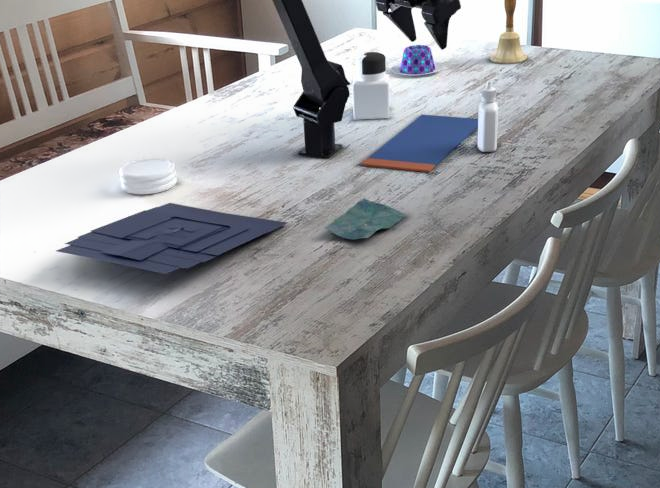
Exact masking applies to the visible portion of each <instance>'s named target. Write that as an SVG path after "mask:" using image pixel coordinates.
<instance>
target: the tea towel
mask: <svg viewBox="0 0 660 488" xmlns="http://www.w3.org/2000/svg"><path fill="white" fill-rule="evenodd" d="M476 129H478V118H473V117H460V116H459V117H457V116H447V115H433V114H420V116H418V117H416V118H415V119H414V120H412V122H411V123H410V124H408V125H407V126H406V127H405V128H403V129H402V130H401V131H400V132H398V133H397V134H396V135H394V136H393V137H392V138H391V139H389V140H388V141H387V142H386V143H385V144H383V145H382V146H381V147H379V148H378V149H377V150H376V151H375V152H374V153H373V152H372V153H371V155H369V156H368V157H367V158H366V159H364V160H363V161H361V162H360V166H361V167H373V168H381V169H392V170H401V171H402V170H403V171H410V172H411V171H412V172H423V173H430V172H431V171H433V170H434V169H435V168H436V167H437V166H438V165H439V164H440V163H441V162H442V161H443V160H444V159H445V158H447V157H448V156H449V155H450V154H451V153H452V152H453V151H454V150H456V148H457V147H458V146H459V145H460V144H461V143H462V142H464V141H465V140H466V139H467V138H468V137H469V136H471V134H472V133H473V132H475V131H476Z"/></svg>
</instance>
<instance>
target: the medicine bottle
mask: <svg viewBox="0 0 660 488" xmlns="http://www.w3.org/2000/svg"><path fill="white" fill-rule="evenodd" d="M354 65H355V66H354V69H355V75H353V78H352V109H353V111H352V112H353V120H355V121H357V120H359V121H360V120H379V119H389V118H390V75H389V74H388V73H387V72H386V71H387V69H386V67H387V66H386V65H387V64H386V56H385V54H383V53H381V52H377V51H367V52H362V53H359V54H358V55H356V57H355V58H354Z"/></svg>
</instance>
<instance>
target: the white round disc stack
mask: <svg viewBox="0 0 660 488" xmlns="http://www.w3.org/2000/svg"><path fill="white" fill-rule="evenodd" d="M118 172H119V173H118V174H119V176H120V178H119V181H120V183H121V184H120V186H121V189H122V190H123V191H125V192H126V193H128V194H131V195H153V194H159V193H161V192H165V191H167V190H169V189H172V188H173V187H174V186H175V185H177V181H178V178H177V171H176V165H175V163H174V162H173V161H172V160H169V159H166V158H160V157H152V158H149V157H148V158H142V159H137V160H134V161H133V160H132V161H130V162H128V163H125V164H123V165H122V167H121V168H120V169H119V171H118Z"/></svg>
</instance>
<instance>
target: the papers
mask: <svg viewBox="0 0 660 488" xmlns="http://www.w3.org/2000/svg"><path fill="white" fill-rule="evenodd" d="M287 224H289V222H287V221H280V220H274V219H268V218H267V219H266V218H261V217H253V216H248V215H240V214H235V213H234V214H233V213H227V212H221V211H216V210H210V209H206V208H205V209H204V208H200V207H194V206H188V205H182V204H178V203H172V202H168V203H166V204H163V205H159V206H156V207H152V208H150V209H147V210H142V211H139V212H137V213H133V214H132V215H129V216H126V217H123V218H120V219H118V220H115V221H112V222H110V223H108V224H105V225H102V226H100V227H97V228H94V229H91V230H90V232H86V233H84V234H82V235H79V236H77V237H76V238H74V239H72V240H69V241H67V242H64V245H67V246H64V247H61V248H59V249H57V250H55V252H57V253H62V254H63V253H64V254H68V255H73V256H77V257H83V258H88V259H93V260H97V261H101V262H108V263H112V264H118V265H122V266H126V267H131V268H137V269H141V270H146V271H148V272H149V271H150V272H155V273H160V274H164V275H166V274H168V273H171V272H173V271H176V270H178V269H181V268H183V269H189V268H191V267H194V266H196V265H198V264H200V263H206V262H208V261H210V260H212V259H215V258H218V257H219V256H221V254H223V253H226V252H228V251H231V250H232V249H234V248H236V247H239V246H241V245H244V244H245V243H247V242H250V241H252V240H254V239H256V238H258V237H260V236H262V235H265V234H268V233H270V232H273V231H275V230H277V229H280V228H281V227H283V226H285V225H287Z"/></svg>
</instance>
